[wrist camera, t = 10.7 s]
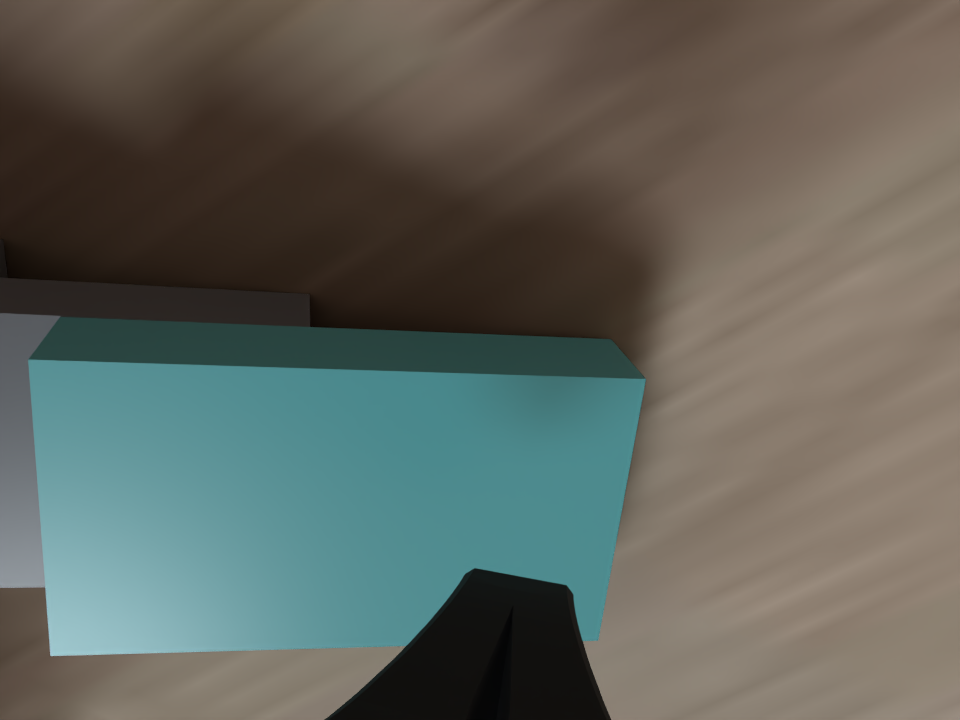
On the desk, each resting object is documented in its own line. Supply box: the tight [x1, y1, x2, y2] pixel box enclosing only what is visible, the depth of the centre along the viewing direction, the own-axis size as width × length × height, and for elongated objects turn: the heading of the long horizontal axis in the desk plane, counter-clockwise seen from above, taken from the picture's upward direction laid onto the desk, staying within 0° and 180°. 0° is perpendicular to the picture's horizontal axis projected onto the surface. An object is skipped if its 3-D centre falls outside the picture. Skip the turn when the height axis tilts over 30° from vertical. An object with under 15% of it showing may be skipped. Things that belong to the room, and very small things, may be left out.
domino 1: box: [0, 278, 310, 588], centre depth 16 cm, size 2×5×9 cm
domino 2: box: [28, 317, 646, 656], centre depth 15 cm, size 2×5×9 cm
